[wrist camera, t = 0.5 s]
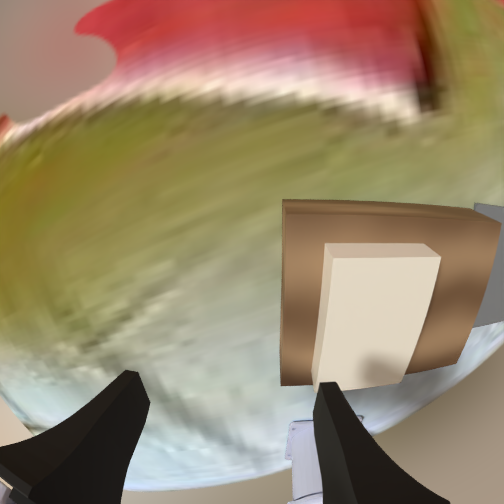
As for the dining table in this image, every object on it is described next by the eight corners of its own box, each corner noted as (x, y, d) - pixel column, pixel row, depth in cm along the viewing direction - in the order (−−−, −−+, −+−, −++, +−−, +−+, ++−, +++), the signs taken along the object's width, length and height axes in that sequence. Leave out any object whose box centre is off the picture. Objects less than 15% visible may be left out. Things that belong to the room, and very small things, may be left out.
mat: (504, 318, 20) (506, 320, 20) (443, 331, 20) (444, 333, 20) (533, 211, 16) (535, 212, 15) (474, 202, 16) (476, 203, 16)
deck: (437, 336, 21) (456, 363, 17) (279, 350, 22) (280, 386, 18) (469, 208, 16) (501, 223, 13) (282, 199, 17) (286, 214, 14)
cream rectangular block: (392, 363, 17) (400, 382, 15) (311, 371, 17) (314, 392, 15) (423, 243, 14) (441, 256, 12) (324, 243, 14) (332, 258, 12)
